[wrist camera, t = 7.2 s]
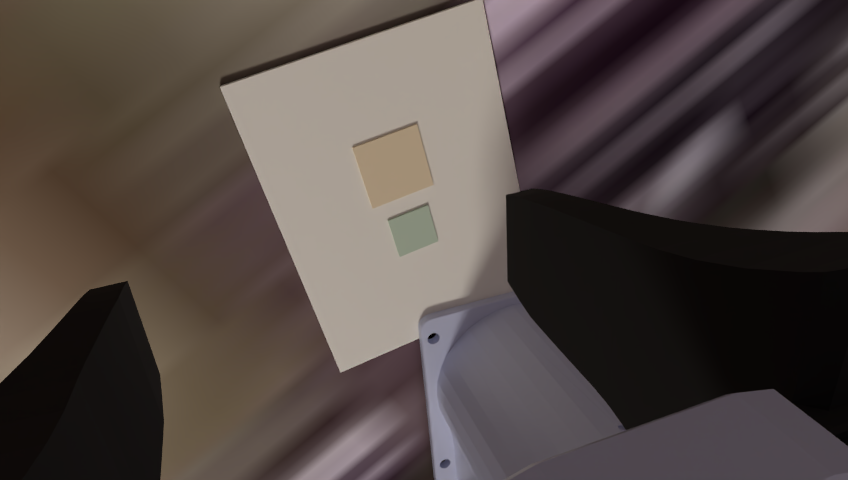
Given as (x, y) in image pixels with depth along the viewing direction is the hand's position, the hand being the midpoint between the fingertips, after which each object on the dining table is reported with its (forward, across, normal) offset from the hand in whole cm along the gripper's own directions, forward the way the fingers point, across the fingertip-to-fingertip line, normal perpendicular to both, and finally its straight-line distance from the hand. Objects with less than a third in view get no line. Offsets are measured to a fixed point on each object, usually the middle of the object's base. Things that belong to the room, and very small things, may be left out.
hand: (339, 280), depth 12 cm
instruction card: (+10, -4, +4) cm, 12 cm away
